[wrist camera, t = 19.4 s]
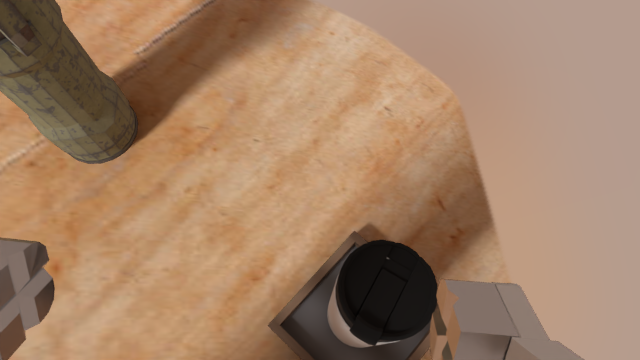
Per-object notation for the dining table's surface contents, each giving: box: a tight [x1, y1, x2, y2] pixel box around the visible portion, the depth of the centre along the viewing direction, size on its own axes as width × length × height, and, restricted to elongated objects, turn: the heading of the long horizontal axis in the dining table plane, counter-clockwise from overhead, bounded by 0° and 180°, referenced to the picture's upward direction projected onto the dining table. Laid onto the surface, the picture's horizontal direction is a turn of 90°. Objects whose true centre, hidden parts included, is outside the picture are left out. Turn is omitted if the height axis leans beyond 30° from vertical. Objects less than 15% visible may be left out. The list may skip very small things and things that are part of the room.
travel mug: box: [327, 240, 437, 348], centre depth 37 cm, size 6×7×20 cm
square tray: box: [268, 231, 439, 360], centre depth 46 cm, size 13×13×2 cm
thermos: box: [0, 0, 138, 164], centre depth 38 cm, size 9×12×35 cm
